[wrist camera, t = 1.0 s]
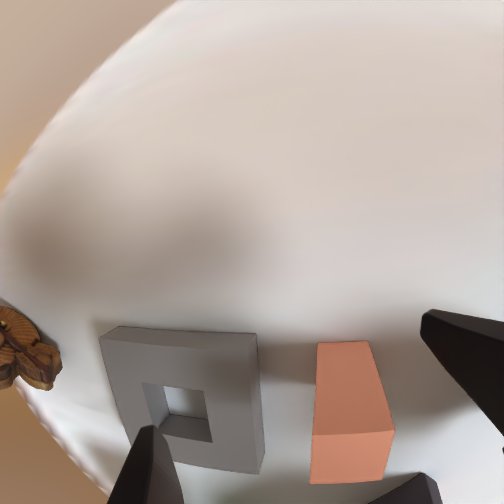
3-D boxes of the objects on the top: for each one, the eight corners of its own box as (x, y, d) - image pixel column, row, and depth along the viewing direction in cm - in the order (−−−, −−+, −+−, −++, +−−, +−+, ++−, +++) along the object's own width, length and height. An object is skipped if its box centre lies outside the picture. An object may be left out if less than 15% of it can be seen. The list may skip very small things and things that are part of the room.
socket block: (256, 333, 22) (246, 350, 19) (264, 452, 23) (258, 474, 20) (119, 325, 24) (98, 337, 21) (147, 433, 25) (132, 450, 23)
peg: (367, 340, 20) (395, 429, 10) (364, 383, 20) (381, 480, 11) (317, 342, 21) (312, 434, 11) (317, 385, 21) (309, 483, 11)
